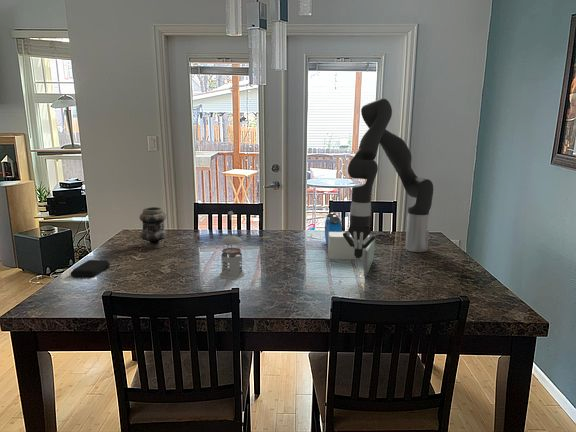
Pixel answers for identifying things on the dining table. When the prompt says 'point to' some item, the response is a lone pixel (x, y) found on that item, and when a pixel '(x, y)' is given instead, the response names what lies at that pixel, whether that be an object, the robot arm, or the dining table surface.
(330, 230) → the alarm clock
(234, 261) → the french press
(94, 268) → the carrying case or bag
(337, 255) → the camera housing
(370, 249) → the side door
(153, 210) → the apothecary jar
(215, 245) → the dining table surface
